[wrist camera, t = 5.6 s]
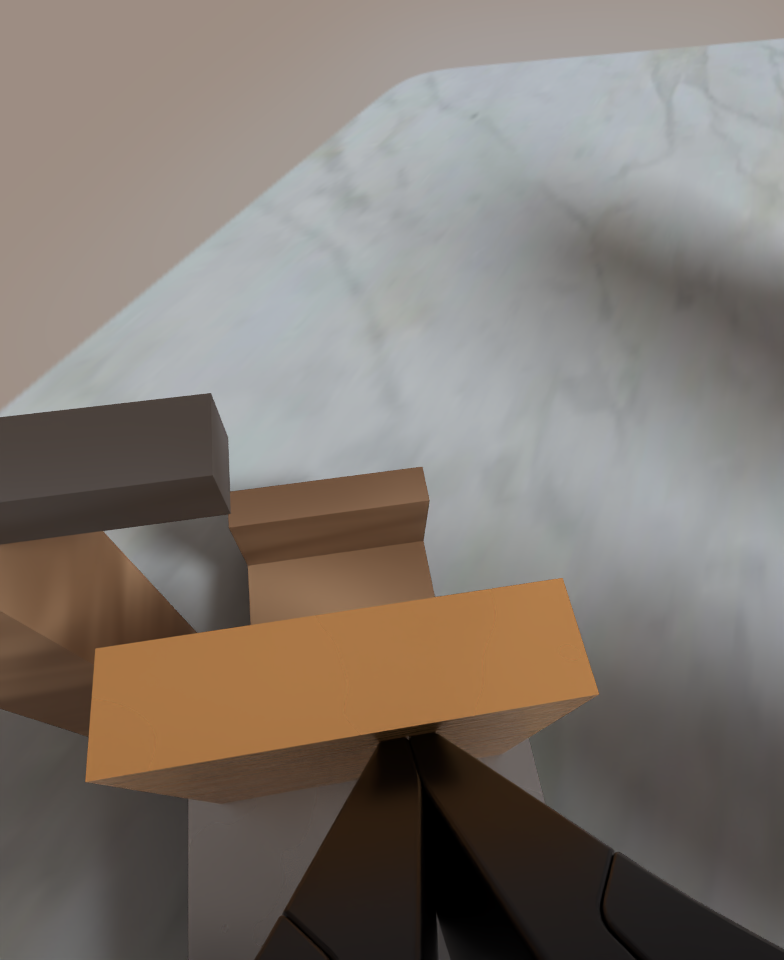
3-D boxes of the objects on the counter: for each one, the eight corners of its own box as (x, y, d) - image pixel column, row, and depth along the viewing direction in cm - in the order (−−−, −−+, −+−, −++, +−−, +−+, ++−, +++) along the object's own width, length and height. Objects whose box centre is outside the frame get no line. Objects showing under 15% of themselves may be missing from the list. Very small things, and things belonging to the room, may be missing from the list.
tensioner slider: (571, 1039, 13) (905, 1404, 5) (226, 1117, 12) (-84, 1702, 4) (493, 701, 17) (608, 571, 8) (218, 748, 16) (40, 656, 8)
